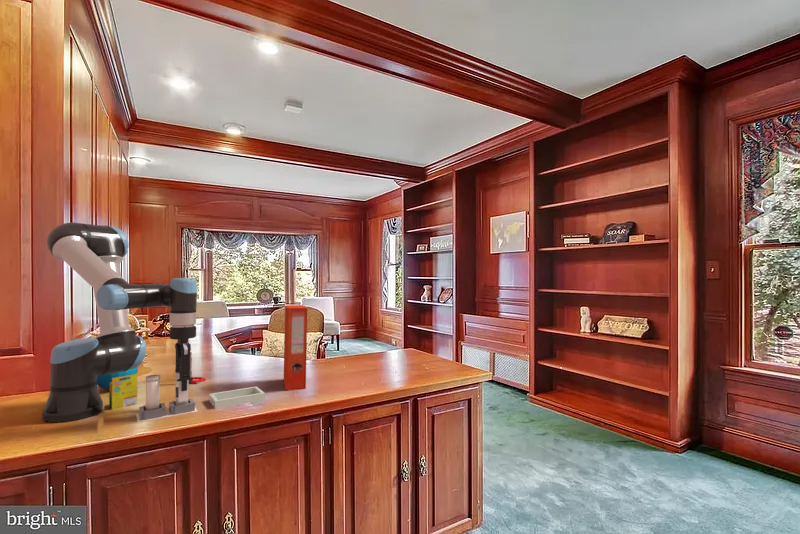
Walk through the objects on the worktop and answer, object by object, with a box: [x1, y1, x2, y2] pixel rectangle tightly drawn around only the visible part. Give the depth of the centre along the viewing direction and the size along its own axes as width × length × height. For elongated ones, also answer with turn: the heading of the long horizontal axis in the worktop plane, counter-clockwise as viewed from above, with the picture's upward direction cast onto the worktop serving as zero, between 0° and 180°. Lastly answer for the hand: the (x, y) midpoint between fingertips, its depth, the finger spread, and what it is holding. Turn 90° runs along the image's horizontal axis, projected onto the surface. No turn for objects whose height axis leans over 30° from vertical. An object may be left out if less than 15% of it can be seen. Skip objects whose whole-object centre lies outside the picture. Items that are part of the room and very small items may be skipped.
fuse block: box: [135, 397, 198, 423], centre depth 124 cm, size 16×8×4 cm, turn 126°
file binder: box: [283, 304, 308, 391], centre depth 164 cm, size 8×17×32 cm, turn 19°
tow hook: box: [189, 351, 206, 385], centre depth 167 cm, size 8×13×9 cm
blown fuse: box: [174, 372, 188, 406], centre depth 127 cm, size 4×4×12 cm
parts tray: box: [208, 385, 266, 409], centre depth 137 cm, size 16×10×4 cm, turn 126°
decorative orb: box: [97, 366, 139, 390], centre depth 155 cm, size 15×15×15 cm
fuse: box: [145, 374, 161, 410], centre depth 122 cm, size 4×4×12 cm
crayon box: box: [108, 373, 138, 411], centre depth 131 cm, size 7×3×12 cm, turn 141°
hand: (182, 398), depth 127 cm, fingers open, 5 cm apart
